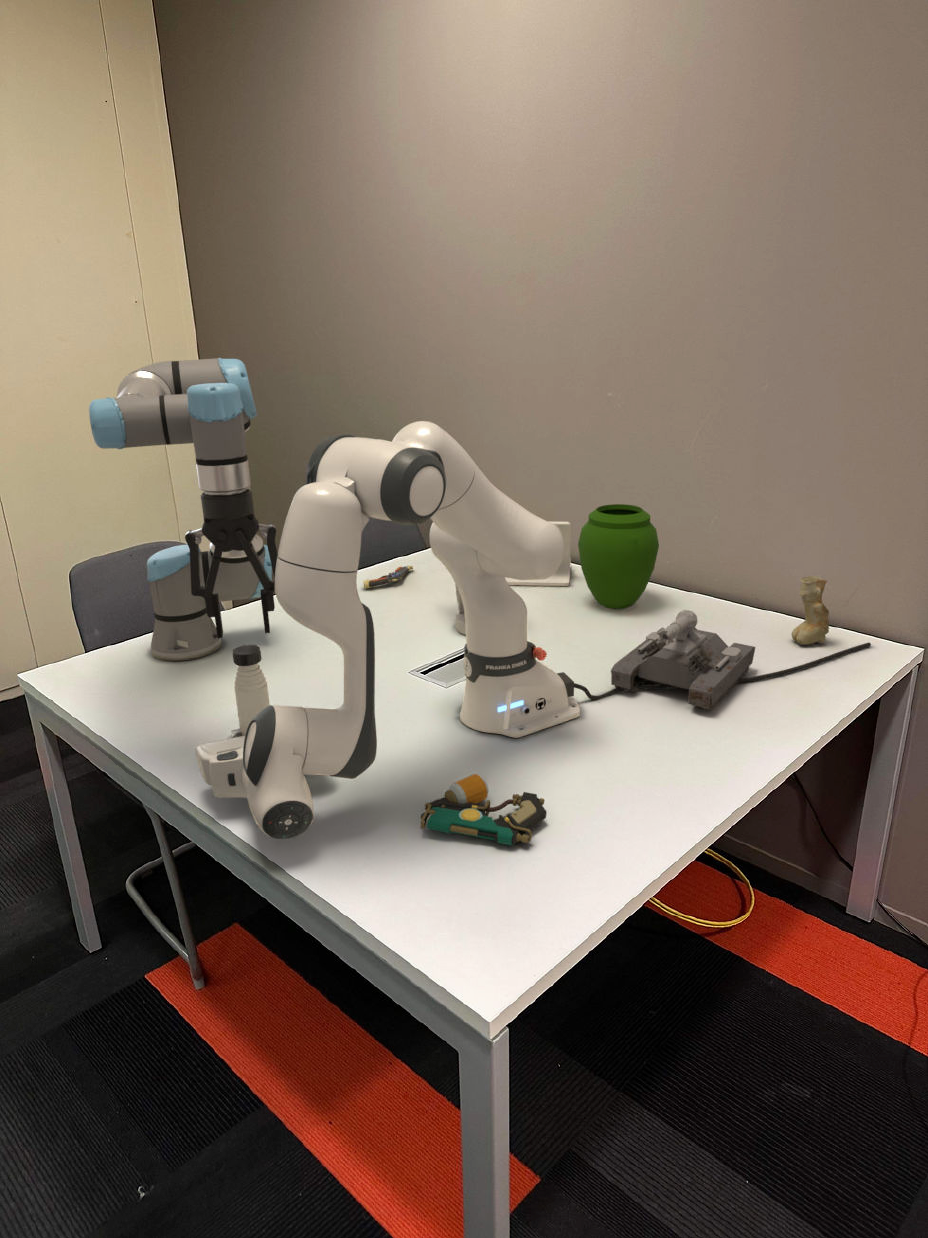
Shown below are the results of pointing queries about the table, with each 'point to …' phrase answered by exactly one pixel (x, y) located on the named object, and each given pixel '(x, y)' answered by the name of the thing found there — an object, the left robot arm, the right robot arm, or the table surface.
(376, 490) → the right robot arm
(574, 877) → the table surface
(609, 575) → the vase
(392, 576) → the toy gun
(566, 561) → the tablet stand
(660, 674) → the toy
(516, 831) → the spray gun
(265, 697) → the bottle
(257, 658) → the cap
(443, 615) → the table surface
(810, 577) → the sculpture
